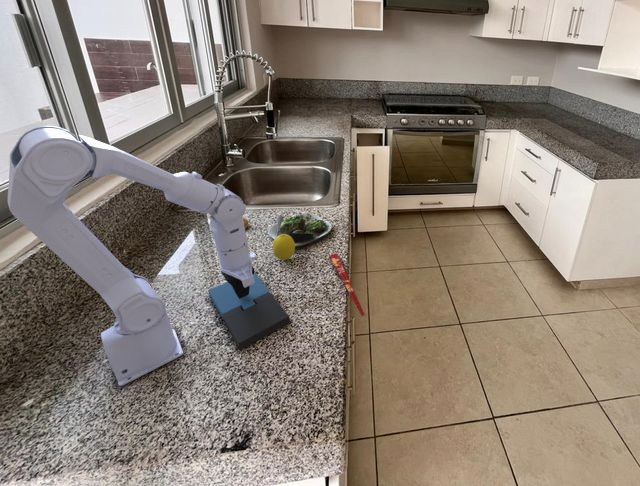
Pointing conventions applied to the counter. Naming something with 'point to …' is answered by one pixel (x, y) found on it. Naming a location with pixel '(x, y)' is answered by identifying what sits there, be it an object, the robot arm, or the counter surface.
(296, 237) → the salad plate
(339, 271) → the chopstick
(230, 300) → the blue pad
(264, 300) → the charcoal pad
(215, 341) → the counter surface
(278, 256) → the lemon
